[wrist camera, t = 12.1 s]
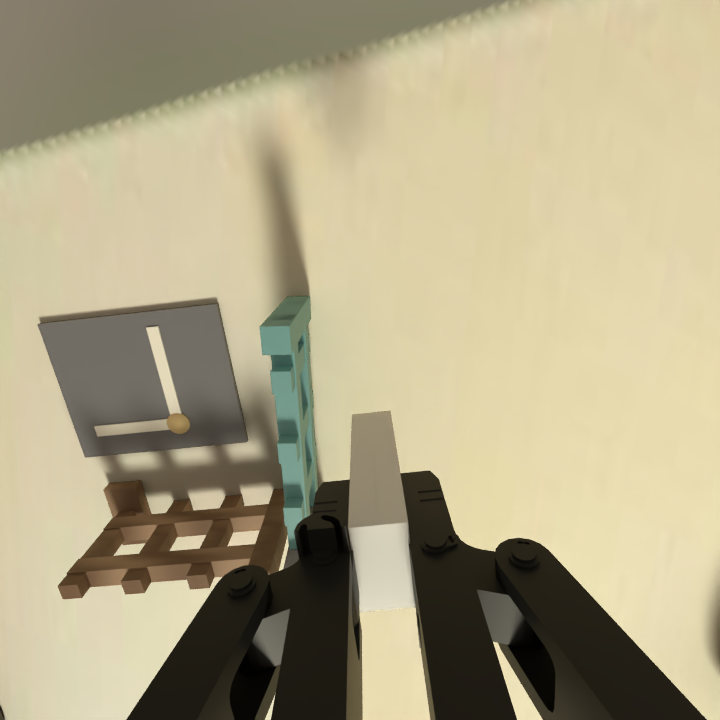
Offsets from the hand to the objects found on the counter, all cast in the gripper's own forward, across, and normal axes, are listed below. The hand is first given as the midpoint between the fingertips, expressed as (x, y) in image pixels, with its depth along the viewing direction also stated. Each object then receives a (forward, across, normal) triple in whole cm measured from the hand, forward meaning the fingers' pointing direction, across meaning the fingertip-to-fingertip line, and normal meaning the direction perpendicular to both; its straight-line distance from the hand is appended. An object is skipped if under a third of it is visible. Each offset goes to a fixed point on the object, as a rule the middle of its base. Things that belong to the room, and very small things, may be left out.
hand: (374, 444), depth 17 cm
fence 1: (+13, +13, +11) cm, 22 cm away
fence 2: (+12, +5, +4) cm, 14 cm away
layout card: (+13, +15, +1) cm, 20 cm away
